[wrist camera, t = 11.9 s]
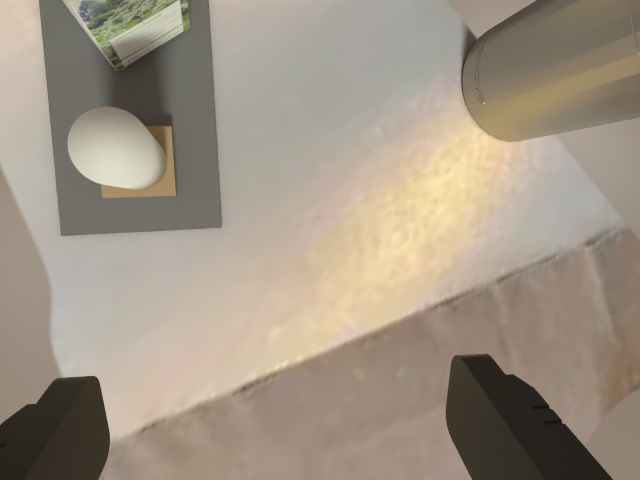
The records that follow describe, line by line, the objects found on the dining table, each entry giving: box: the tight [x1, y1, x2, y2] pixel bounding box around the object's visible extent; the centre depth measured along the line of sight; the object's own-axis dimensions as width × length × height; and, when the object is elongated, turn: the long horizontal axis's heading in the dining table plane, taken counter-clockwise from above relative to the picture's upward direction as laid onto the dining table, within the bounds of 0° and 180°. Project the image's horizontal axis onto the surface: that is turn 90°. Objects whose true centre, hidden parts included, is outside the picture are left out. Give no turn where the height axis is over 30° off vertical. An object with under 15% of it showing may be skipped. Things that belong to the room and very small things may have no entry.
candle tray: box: [39, 0, 222, 236], centre depth 24 cm, size 10×20×9 cm, turn 2°
